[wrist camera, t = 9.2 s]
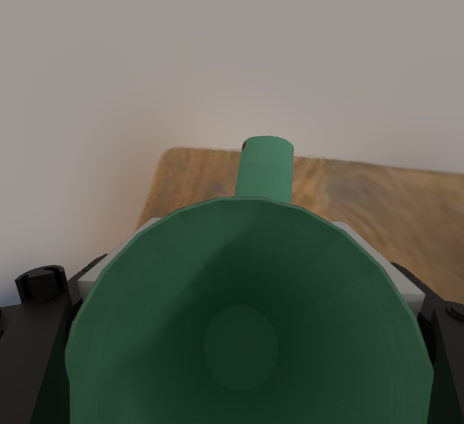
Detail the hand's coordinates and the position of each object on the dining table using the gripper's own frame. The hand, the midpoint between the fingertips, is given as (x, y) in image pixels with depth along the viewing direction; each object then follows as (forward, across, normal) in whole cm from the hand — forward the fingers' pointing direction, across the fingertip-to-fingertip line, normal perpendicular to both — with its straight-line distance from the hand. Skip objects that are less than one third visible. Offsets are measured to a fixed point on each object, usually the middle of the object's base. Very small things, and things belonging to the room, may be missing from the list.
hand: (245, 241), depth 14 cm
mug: (+1, 0, -5) cm, 5 cm away
